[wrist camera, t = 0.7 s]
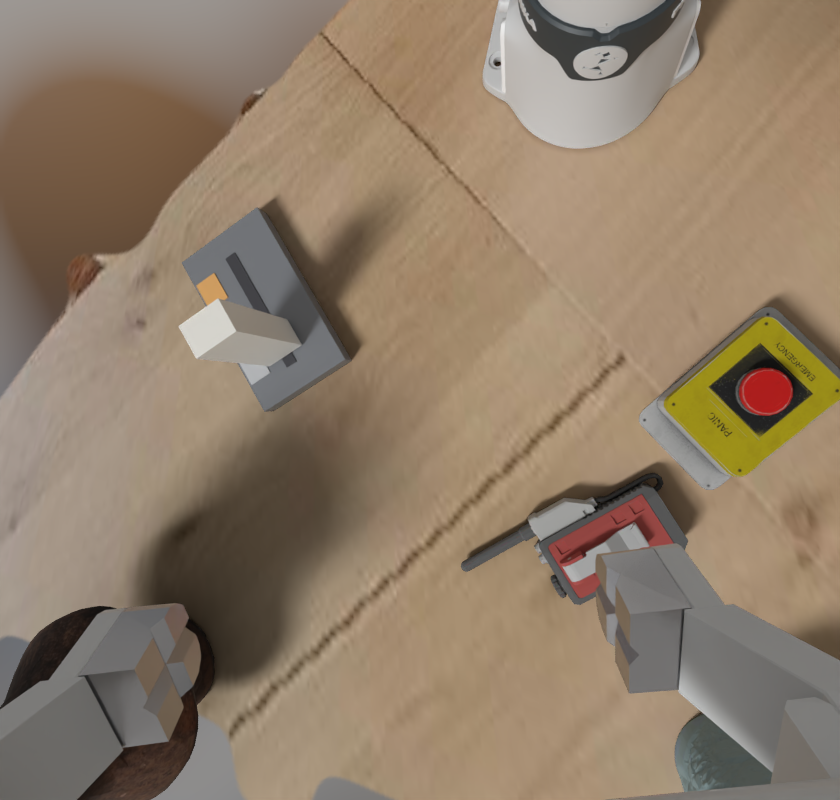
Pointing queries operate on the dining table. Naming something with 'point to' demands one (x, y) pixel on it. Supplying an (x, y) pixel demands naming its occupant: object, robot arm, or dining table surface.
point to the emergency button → (743, 400)
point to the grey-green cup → (715, 759)
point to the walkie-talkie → (592, 534)
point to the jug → (135, 766)
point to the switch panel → (269, 304)
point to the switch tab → (238, 334)
